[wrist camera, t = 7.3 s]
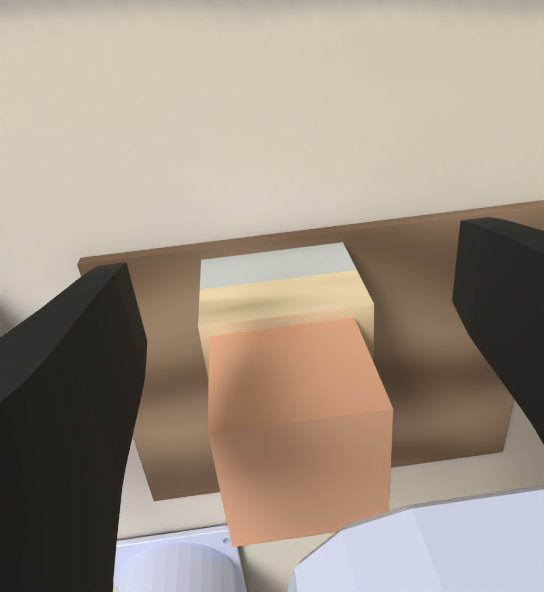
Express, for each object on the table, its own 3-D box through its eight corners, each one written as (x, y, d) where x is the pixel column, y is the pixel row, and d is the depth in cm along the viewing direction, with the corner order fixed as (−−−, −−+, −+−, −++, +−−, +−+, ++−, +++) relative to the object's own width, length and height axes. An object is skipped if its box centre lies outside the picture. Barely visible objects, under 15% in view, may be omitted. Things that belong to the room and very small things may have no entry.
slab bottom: (345, 354, 25) (357, 389, 23) (221, 371, 25) (222, 407, 23) (342, 242, 22) (356, 270, 20) (201, 259, 22) (199, 289, 19)
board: (497, 444, 30) (502, 451, 30) (154, 492, 29) (154, 501, 29) (544, 200, 22) (552, 205, 22) (80, 258, 22) (77, 264, 21)
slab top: (357, 389, 23) (372, 431, 21) (222, 407, 23) (222, 451, 20) (356, 270, 20) (374, 304, 18) (199, 289, 19) (197, 326, 17)
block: (355, 423, 20) (388, 524, 16) (228, 440, 20) (232, 547, 16) (354, 317, 18) (393, 408, 14) (209, 336, 18) (207, 433, 14)
